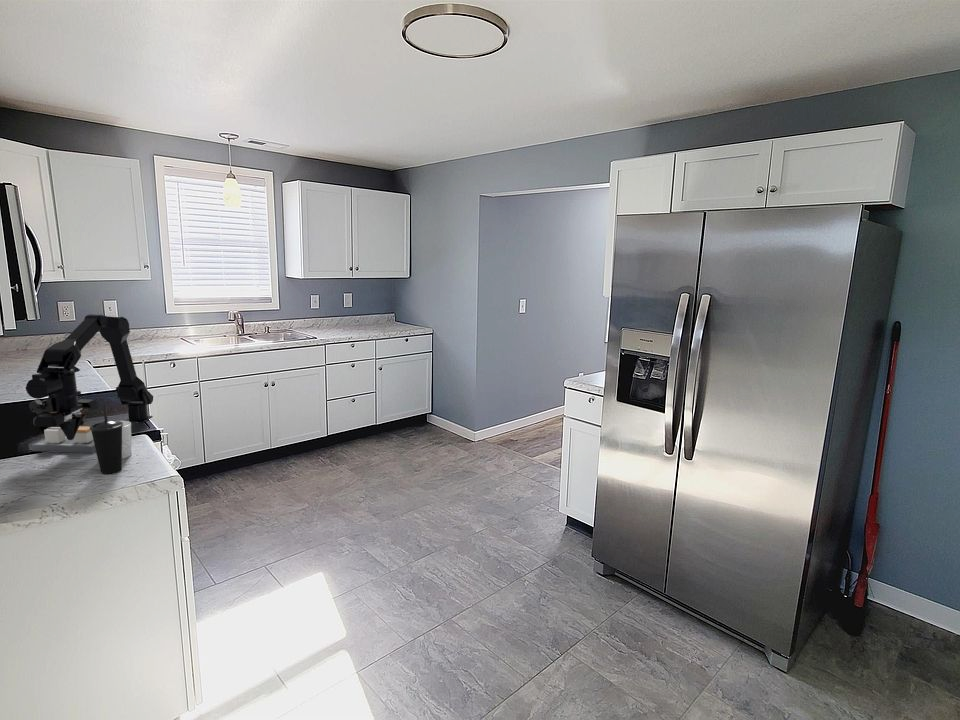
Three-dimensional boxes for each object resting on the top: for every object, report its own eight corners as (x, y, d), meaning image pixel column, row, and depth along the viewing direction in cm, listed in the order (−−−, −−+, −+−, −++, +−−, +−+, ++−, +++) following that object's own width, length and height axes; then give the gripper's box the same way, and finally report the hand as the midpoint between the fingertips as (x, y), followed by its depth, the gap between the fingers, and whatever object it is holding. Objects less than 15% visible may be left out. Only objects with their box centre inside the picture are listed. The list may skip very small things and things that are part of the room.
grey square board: (74, 431, 181) (74, 425, 181) (129, 433, 182) (128, 427, 181) (32, 451, 164) (31, 444, 163) (92, 452, 164) (91, 446, 164)
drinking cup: (91, 478, 147) (83, 408, 143) (98, 467, 154) (90, 400, 150) (124, 474, 150) (117, 405, 146) (129, 464, 157) (123, 398, 153)
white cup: (139, 451, 166) (136, 420, 164) (123, 461, 159) (120, 429, 157) (113, 451, 166) (110, 420, 164) (96, 460, 158) (92, 428, 156)
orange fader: (81, 439, 169) (79, 426, 168) (94, 439, 169) (93, 427, 168) (74, 442, 166) (72, 429, 165) (87, 442, 166) (86, 430, 165)
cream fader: (52, 439, 168) (51, 426, 167) (66, 439, 168) (64, 426, 167) (45, 442, 165) (43, 429, 164) (59, 443, 165) (57, 429, 164)
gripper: (60, 381, 167) (66, 428, 171) (10, 397, 149) (17, 450, 152) (96, 382, 168) (101, 429, 171) (51, 398, 149) (57, 451, 153)
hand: (70, 439), depth 162 cm, fingers closed
